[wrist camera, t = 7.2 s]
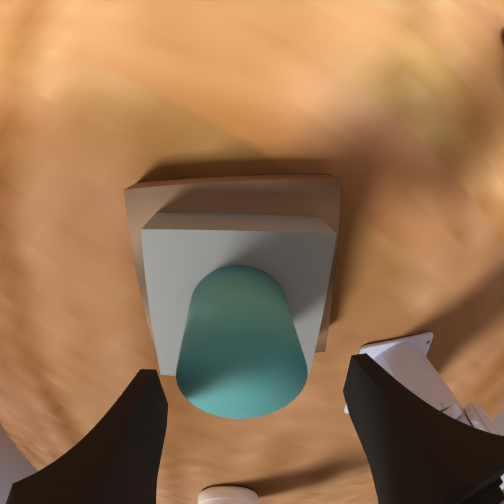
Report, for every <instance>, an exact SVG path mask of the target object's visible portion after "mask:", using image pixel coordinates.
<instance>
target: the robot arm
mask: <svg viewBox="0 0 504 504" xmlns="http://www.w3.org/2000/svg"><path fill="white" fill-rule="evenodd" d="M433 336H434V335H433V333H432V332H427V333H423V334H418V335H414V336H409V337H405V338H400V339H395V340H390V341H385V342H379V343H374V344H368V345H364V346H363V347H362V348H361V349H360V352H359V354H358V355H352V356H351V360H350V364H349V369H348V373H347V377H346V381H345V385H344V389H343V393H344V397H345V401H346V405H345V408H344V412H345V413H349V415H350V417H351V420H352V422H353V424H354V427H355V429H356V432H357V434H358V436H359V439H360V441H361V444H362V446H363V449H364V451H365V453H366V456H367V459H368V462H369V464H370V468H371V472H372V476H373V480H374V484H375V488H376V495H377V499H378V503H379V504H504V436H503V435H502V434H501V432H500V431H499V429H498V428H497V426H496V425H495V424H494V422H493V421H492V419H491V418H490V417H489V415H488V414H487V413H486V412H485V410H484V409H483V408H482V407H481V406H480V405H479V404H468V405H467V406H466V407H465V408H463V407H462V406H461V405H460V403H459V402H458V400H457V399H456V397H455V396H454V395H453V393H452V392H451V390H450V389H449V387H448V386H447V385H446V383H445V382H444V380H443V379H442V378H441V376H440V375H439V373H438V372H437V371H436V369H435V368H434V367H433V365H432V364H431V363H430V361H429V360H428V359H427V357H426V355H427V353H428V350H429V347H430V345H431V342H432V339H433ZM167 414H168V403H167V400H166V397H165V394H164V391H163V388H162V386H161V383H160V380H159V377H158V374H157V371H156V370H150V369H141V370H140V371H139V372H138V373H137V374H136V376H135V377H134V379H133V380H132V381H131V383H130V384H129V385H128V387H127V388H126V389H125V391H124V392H123V393H122V395H121V396H120V397H119V398H118V400H117V401H116V402H115V403H114V405H113V406H112V407H111V409H110V410H109V411H108V412H107V413H106V414H105V416H104V417H103V418H102V419H101V420H100V421H99V422H98V423H97V425H96V426H95V427H94V428H93V429H92V430H91V431H90V432H89V433H88V434H87V435H86V436H85V437H84V438H83V439H82V440H81V441H80V442H78V443H77V444H76V445H75V446H74V447H73V448H71V449H70V450H69V451H68V452H67V453H65V454H64V455H63V456H61V457H60V458H59V459H57V460H56V461H54V462H53V463H51V464H50V465H48V466H47V467H45V468H43V469H42V470H40V471H38V472H37V473H35V474H33V475H31V476H29V477H26V478H25V479H22V480H20V481H18V482H16V483H13V485H12V487H11V490H10V493H9V496H8V499H7V502H6V504H156V486H157V476H158V470H159V464H160V459H161V454H162V449H163V443H164V438H165V433H166V427H167Z"/></svg>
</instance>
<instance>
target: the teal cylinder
mask: <svg viewBox="0 0 504 504" xmlns="http://www.w3.org/2000/svg"><path fill="white" fill-rule="evenodd" d="M307 374H308V371H307V364H306V360H305V357H304V354H303V351H302V348H301V345H300V341H299V338H298V335H297V332H296V329H295V326H294V323H293V320H292V316H291V313H290V310H289V307H288V304H287V301H286V298H285V295H284V292H283V290H282V288H281V286H280V285H279V283H278V282H277V281H276V280H275V279H274V278H273V277H272V276H271V275H269V274H268V273H266V272H264V271H262V270H260V269H257V268H254V267H250V266H243V265H233V266H227V267H223V268H220V269H217V270H215V271H213V272H211V273H210V274H208V275H207V276H205V277H204V278H203V279H202V280H201V281H200V282H199V283H198V285H197V286H196V288H195V289H194V291H193V294H192V297H191V301H190V305H189V310H188V314H187V319H186V324H185V329H184V333H183V338H182V343H181V348H180V353H179V358H178V364H177V369H176V380H177V384H178V386H179V389H180V391H181V392H182V394H183V395H184V396H185V397H186V399H187V400H188V401H190V402H191V403H192V404H193V405H195V406H196V407H198V408H199V409H201V410H203V411H205V412H208V413H210V414H213V415H217V416H221V417H226V418H237V419H243V418H254V417H259V416H264V415H267V414H270V413H273V412H275V411H277V410H279V409H281V408H283V407H285V406H286V405H288V404H289V403H290V402H292V401H293V400H294V399H295V398H296V397H297V396H298V395H299V393H300V392H301V391H302V389H303V387H304V385H305V383H306V380H307Z"/></svg>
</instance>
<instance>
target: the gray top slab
mask: <svg viewBox="0 0 504 504" xmlns="http://www.w3.org/2000/svg"><path fill="white" fill-rule="evenodd" d="M141 237H142V249H143V260H144V270H145V279H146V287H147V295H148V303H149V310H150V317H151V323H152V330H153V336H154V342H155V347H156V353H157V358H158V363H159V369H160V374H161V375H173V376H176V369H177V364H178V358H179V353H180V348H181V343H182V338H183V333H184V329H185V324H186V319H187V314H188V310H189V305H190V301H191V297H192V294H193V291H194V289H195V288H196V286H197V285H198V283H199V282H200V281H201V280H202V279H203V278H204V277H205V276H207V275H208V274H210V273H211V272H213V271H215V270H217V269H220V268H223V267H227V266H233V265H243V266H250V267H254V268H257V269H260V270H262V271H264V272H266V273H268V274H269V275H271V276H272V277H273V278H274V279H275V280H276V281H277V282H278V283H279V285H280V286H281V288H282V290H283V292H284V295H285V298H286V301H287V304H288V307H289V310H290V313H291V316H292V320H293V323H294V326H295V329H296V332H297V335H298V338H299V341H300V345H301V348H302V351H303V354H304V357H305V360H306V364H307V371H308V374H307V375H309V374H310V370H311V366H312V362H313V358H314V353H315V349H316V344H317V340H318V335H319V330H320V326H321V321H322V316H323V311H324V306H325V300H326V295H327V289H328V284H329V278H330V272H331V266H332V260H333V254H334V247H335V241H336V233H335V232H334V231H333V230H332V229H331V228H330V227H329V226H328V225H327V224H326V223H325V222H324V221H323V220H322V219H321V218H320V217H313V216H291V215H265V214H229V213H155V214H154V215H153V217H152V218H151V219H150V220H149V221H148V222H147V223H146V224H145V225H144V226H143V228H142V229H141Z"/></svg>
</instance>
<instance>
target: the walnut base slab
mask: <svg viewBox="0 0 504 504" xmlns="http://www.w3.org/2000/svg"><path fill="white" fill-rule="evenodd" d="M124 196H125V204H126V212H127V219H128V226H129V233H130V239H131V245H132V251H133V257H134V262H135V267H136V273H137V278H138V283H139V287H140V292H141V297H142V301H143V306H144V310H145V314H146V318H147V323H148V327H149V331H150V334H151V338H152V342H153V346H154V349H155V353H156V347H155V342H154V336H153V330H152V323H151V317H150V310H149V303H148V295H147V287H146V279H145V270H144V260H143V249H142V237H141V229H142V228H143V226H144V225H145V224H146V223H147V222H148V221H149V220H150V219H151V218H152V217H153V215H154V214H155V213H229V214H265V215H291V216H313V217H320V218H321V219H322V220H323V221H324V222H325V223H326V224H327V225H328V226H329V227H330V228H331V229H332V230H333V231H334V232H335V233H336V241H335V247H334V254H333V260H332V266H331V272H330V278H329V284H328V289H327V295H326V300H325V306H324V311H323V316H322V321H321V326H320V330H319V335H318V340H317V344H316V349H315V353H317V352H325V349H326V343H327V336H328V329H329V322H330V314H331V306H332V298H333V289H334V280H335V270H336V260H337V248H338V235H339V220H340V203H341V179H339V178H336V177H334V176H331V175H329V174H267V175H237V176H216V177H200V178H186V179H173V180H162V181H151V182H142V183H135V184H134V185H132V186H130V187H128V188H126V189H124ZM156 357H157V353H156ZM157 360H158V358H157Z"/></svg>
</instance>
